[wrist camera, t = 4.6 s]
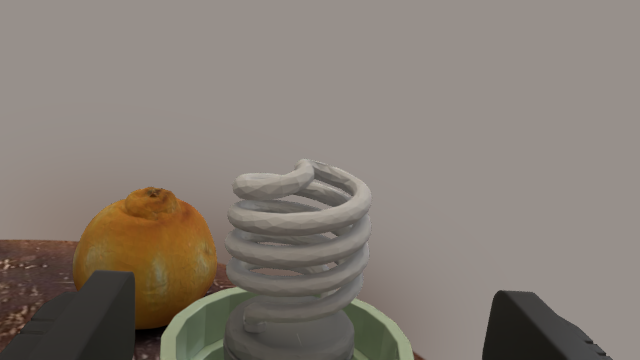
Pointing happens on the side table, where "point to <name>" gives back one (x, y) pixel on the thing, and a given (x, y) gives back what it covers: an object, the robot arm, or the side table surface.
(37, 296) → the side table surface
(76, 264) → the fruit
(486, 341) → the robot arm
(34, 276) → the side table surface
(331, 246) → the light bulb
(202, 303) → the bowl
